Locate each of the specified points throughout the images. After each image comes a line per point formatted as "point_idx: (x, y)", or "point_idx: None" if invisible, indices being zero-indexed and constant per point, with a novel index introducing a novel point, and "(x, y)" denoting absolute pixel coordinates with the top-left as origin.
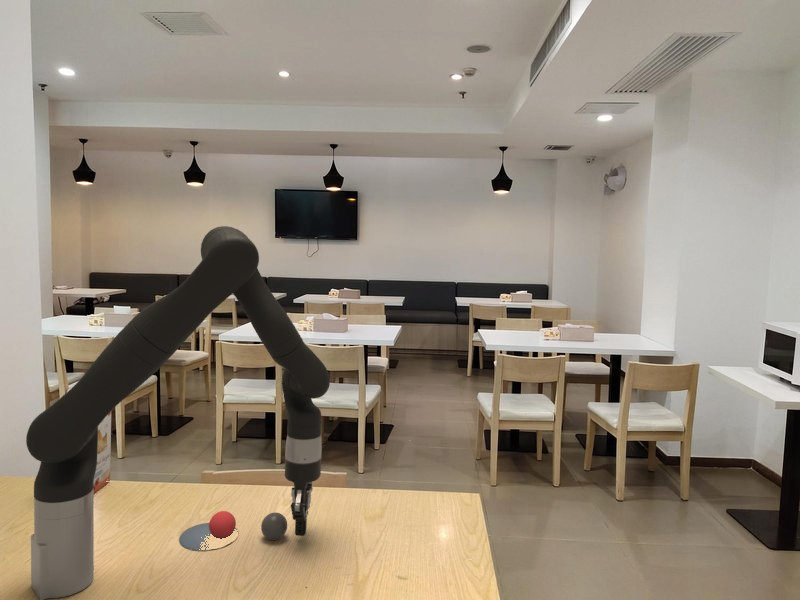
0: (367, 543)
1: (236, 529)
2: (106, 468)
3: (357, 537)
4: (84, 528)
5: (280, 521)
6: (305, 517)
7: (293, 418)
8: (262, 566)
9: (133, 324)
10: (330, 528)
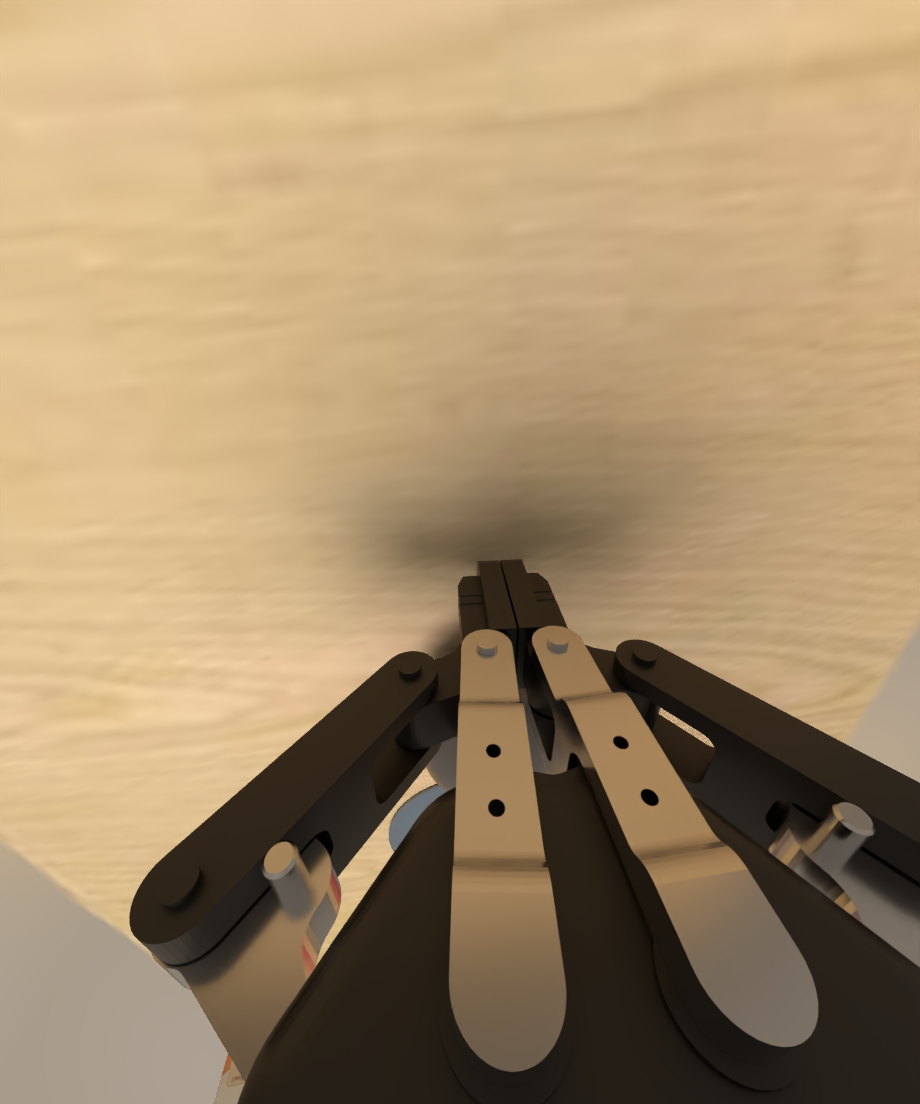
0: None
1: (431, 791)
2: (240, 1093)
3: (387, 113)
4: None
5: (533, 737)
6: (657, 656)
7: None
8: (718, 655)
9: None
10: (296, 407)
